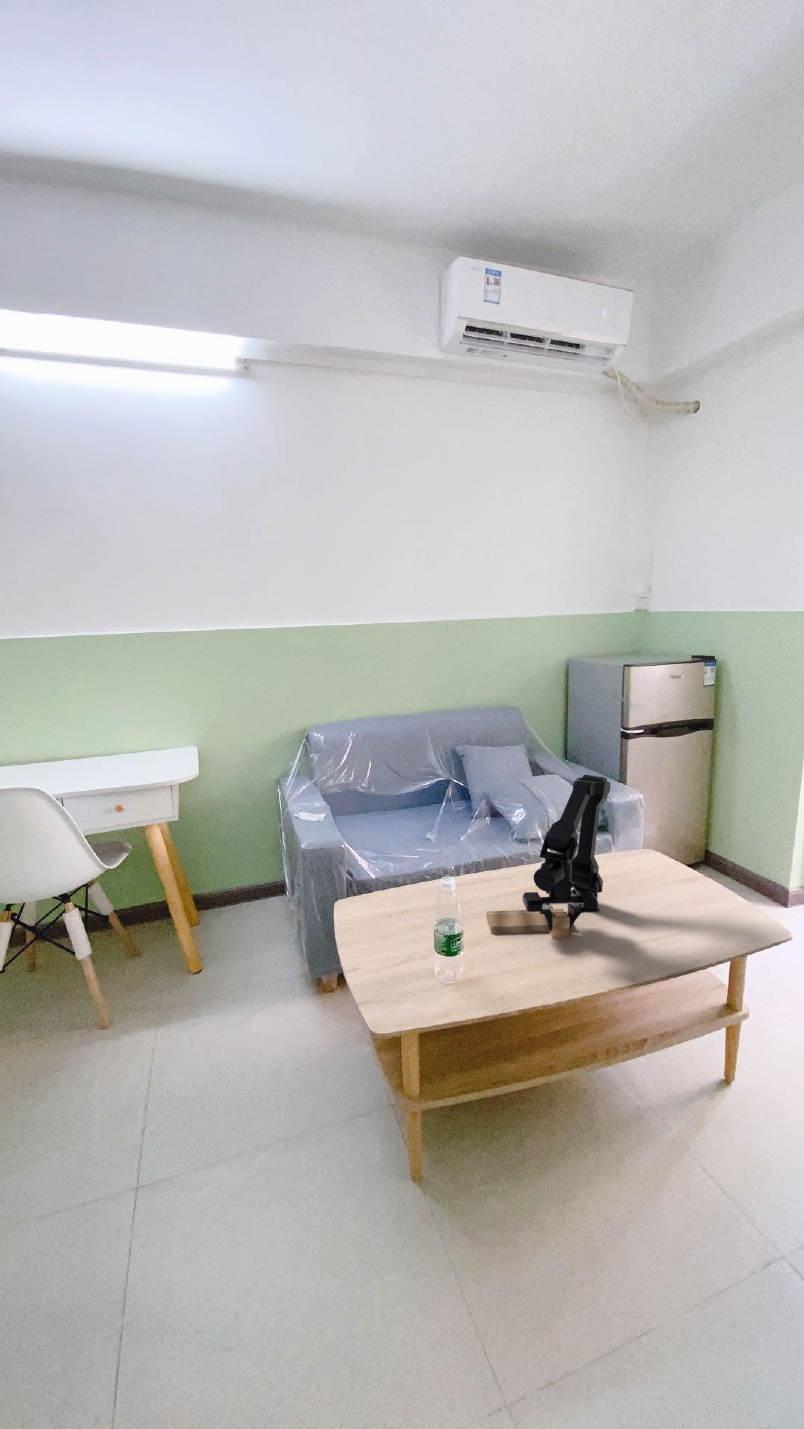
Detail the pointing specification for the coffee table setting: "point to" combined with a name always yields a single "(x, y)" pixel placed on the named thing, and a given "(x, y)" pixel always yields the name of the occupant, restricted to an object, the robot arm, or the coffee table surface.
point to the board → (517, 921)
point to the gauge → (559, 924)
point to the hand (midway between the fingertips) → (559, 929)
